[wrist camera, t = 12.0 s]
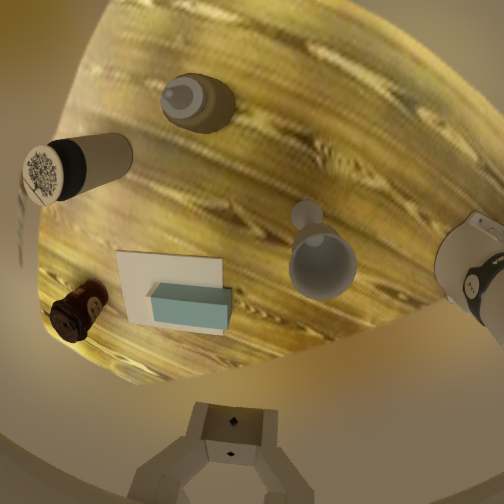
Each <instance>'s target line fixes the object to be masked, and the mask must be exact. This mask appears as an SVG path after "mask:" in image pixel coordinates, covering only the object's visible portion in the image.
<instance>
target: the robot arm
mask: <svg viewBox="0 0 504 504" xmlns="http://www.w3.org/2000/svg"><path fill="white" fill-rule="evenodd" d="M479 219H480V221H479ZM435 275H436V279H437V282H438V284H439V285H440V286H441V287H442V288H443V290H444V291H445V294H446V299H447V300H448V302H449V303H451V304H453V303H456V304H457V305H458V306H459V307H461V309H463V310H464V311H465V312H466V313H467V314H468V315H473V316H474V317H475V319H476V320H477V321H478V322H480V323H481V324H482V325H483V326H486V327H487V328H488V330H489V331H490V332H491V333H492V335H493V336H494V337H495V338H496V340H497V341H498V342H499V344H500V345H501V347H502V348H503V349H504V226H503V225H501V224H499V223H497V222H496V221H494V220H492V219H490V218H488V217H486V216H485V215H483V214H481V213H479V212H477V211H474V212H472V213H471V215H470V216H469V217H468V218H467V220H466V221H465V222H464V223H463V224H462V225H460V226H458V227H457V228H455V229H454V230H453V231H452V232H451V233H450V234H449V235H448V236H447V237H446V239H445V240H444V241H443V243H442V245H441V247H440V249H439V251H438V254H437V257H436V262H435ZM277 428H278V410H268V409H264V410H263V409H258V408H244V407H229V406H222V405H215V404H209V403H202V402H196V403H195V405H194V407H193V411H192V414H191V418H190V421H189V425H188V428H187V432H186V435H185V437H184V436H181V437H179V438H178V439H177V440H175V441H174V442H173V443H172V444H170V445H169V446H168V447H167V448H165V449H164V450H162V451H161V452H160V453H158V454H157V455H155V456H154V457H153V458H151V459H150V460H149V461H147V462H146V463H144V464H143V465H141V466H140V467H139V468H137V470H136V473H135V475H134V478H133V481H132V484H131V487H130V489H129V492H128V495H127V498H126V497H123V496H120V495H117V494H114V493H112V492H109V491H107V490H104V489H102V488H99V487H97V486H94V485H92V484H90V483H87V482H85V481H83V480H81V479H79V478H76V477H74V476H72V475H70V474H68V473H66V472H64V471H62V470H60V469H58V468H56V467H55V466H53V465H51V464H49V463H47V462H45V461H44V460H42V459H40V458H38V457H37V456H35V455H33V454H32V453H30V452H28V451H27V450H25V449H24V448H22V447H21V446H19V445H17V444H16V443H15V442H13V441H12V440H10V439H9V438H7V437H6V436H4V435H3V434H2V433H0V504H190V501H189V499H188V497H187V495H186V493H185V492H184V490H183V487H184V486H185V485H186V484H187V483H188V482H189V481H190V480H191V479H192V478H193V477H194V476H195V475H196V474H197V473H198V472H200V470H202V469H203V468H204V467H205V465H207V463H209V461H211V462H220V463H230V464H238V465H246V466H254V469H255V470H256V472H257V474H258V476H259V477H260V479H261V481H262V483H263V484H264V486H265V487H266V489H267V491H268V493H267V494H266V495H265V496H264V499H263V503H262V504H314V491H313V489H312V488H311V487H310V485H308V483H307V482H306V480H305V479H304V478H303V476H302V475H301V474H300V473H299V471H298V470H297V469H296V467H295V466H294V465H293V463H292V462H291V461H290V459H289V458H288V457H287V455H286V454H285V452H284V451H283V450H282V448H280V447H277V431H278V430H277ZM426 504H504V472H502V473H500V474H498V475H496V476H494V477H492V478H490V479H488V480H486V481H484V482H481V483H479V484H477V485H475V486H472V487H470V488H468V489H465V490H463V491H461V492H458V493H455V494H453V495H450V496H447V497H445V498H442V499H439V500H436V501H433V502H429V503H426Z"/></svg>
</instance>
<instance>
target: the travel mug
mask: <svg viewBox="0 0 504 504" xmlns="http://www.w3.org/2000/svg"><path fill="white" fill-rule="evenodd" d="M131 162H132V150H131V146H130V144H129V142H128V141H127V140H126V138H124V137H123V136H122V135H120V134H116V133H110V134H100V135H90V136H82V137H74V138H67V139H60V140H55V141H52V142H50V143H49V144H47V145H38V146H36V147H34V148H33V149H32V150H31V151H30V152H29V154H28V155H27V157H26V160H25V163H24V167H23V181H24V185H25V189H26V191H27V193H28V195H29V197H30V198H31V199H32V200H33V201H34V202H35V203H36V204H38V205H40V206H49V205H51V204H53V203H54V202H55V201H65V200H67V199H69V198H72V197H74V196H76V195H79V194H81V193H84V192H86V191H88V190H91V189H93V188H96V187H98V186H101V185H103V184H106V183H108V182H111V181H114V180H116V179H119V178H121V177H122V176H124V175H125V174H126V173H127V171H128V170H129V168H130V166H131Z"/></svg>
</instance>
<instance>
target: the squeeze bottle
mask: <svg viewBox="0 0 504 504" xmlns="http://www.w3.org/2000/svg"><path fill="white" fill-rule="evenodd" d="M161 105H162V108H163V112H164V114H165V116H166V117H167V118H168V120H169V121H170V122H172V123H173V124H175V125H177V126H178V127H181V128H184V129H187V130H190V131H193V132H196V133H203V134H208V133H212V132H217V131H219V130H220V129H221V128H223V127H224V126H226V125H227V124H228V122H229V121H230V119H231V118H232V116H233V114H234V109H235V100H234V95H233V93H232V91H231V90H230V89H229V87H228V86H227V85H226V84H224V83H223V82H221V81H219V80H217V79H214V78H211V77H208V76H205V75H202V74H196V73H187V74H184V75H181V76H178V77H177V78H175V79H173V80H172V81H171V82H169V83H168V84H167V85H166V86H165V88H164V90H163V91H162V95H161Z"/></svg>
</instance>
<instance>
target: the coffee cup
mask: <svg viewBox="0 0 504 504" xmlns="http://www.w3.org/2000/svg"><path fill="white" fill-rule="evenodd" d="M107 301H108V294H107V291H106V289H105V287H104V286H103V285H102V283H101V282H99V281H97V280H96V279H88V280H87V281H86V282H85V284H84V285H81V286H80V287H78V288H76V290H75V291H73V292H71V293H69V294H68V295H67V296H66V297H65V298H64V299H62V300H58V301H55V302H54V303H53V305H52V308H51V312H50V321H51V324H52V326H53V328H54V329H55V330H56V331H57V333H58V334H59V336H60V337H61V338H62V339H63V340H65V341H67V342H70V343H75V342H77V341H82V340H84V339H86V337H87V333H88V332H87V331H88V330H89V329H90V328H91V326H92V325H93V323H94V322H95V320H96V319H97V317H98V316H99V314H100V312H101V311H102V308H103V306H104V305H105V304H106V303H107Z"/></svg>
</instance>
